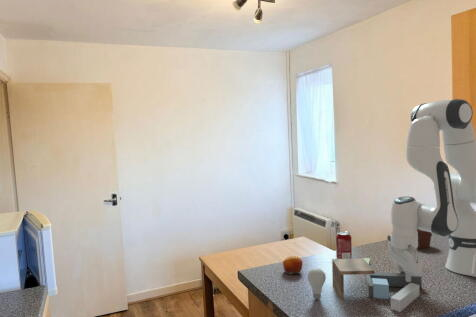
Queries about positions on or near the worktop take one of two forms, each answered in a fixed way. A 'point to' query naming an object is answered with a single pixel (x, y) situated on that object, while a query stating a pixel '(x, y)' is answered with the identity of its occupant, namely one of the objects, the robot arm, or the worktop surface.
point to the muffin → (423, 239)
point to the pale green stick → (367, 260)
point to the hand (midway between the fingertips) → (404, 278)
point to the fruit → (292, 265)
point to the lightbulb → (316, 281)
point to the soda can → (343, 245)
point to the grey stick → (404, 297)
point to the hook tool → (390, 280)
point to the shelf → (347, 272)
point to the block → (380, 288)
